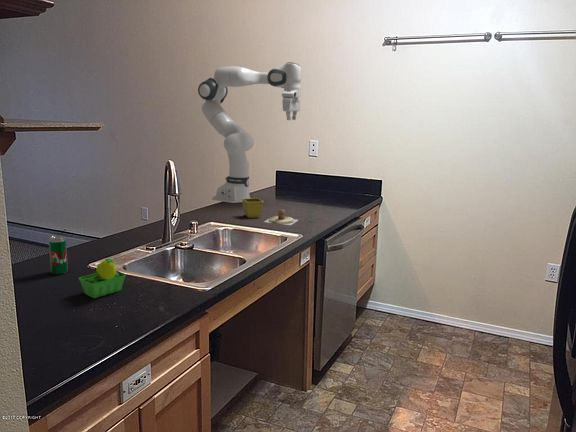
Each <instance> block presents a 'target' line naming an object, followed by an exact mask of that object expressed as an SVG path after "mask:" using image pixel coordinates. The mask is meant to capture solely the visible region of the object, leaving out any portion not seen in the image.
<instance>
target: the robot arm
mask: <svg viewBox="0 0 576 432" xmlns="http://www.w3.org/2000/svg"><path fill="white" fill-rule="evenodd" d="M213 75H214V76H213V78H212V77H208V78H207V79H206V80H204V81H202V82H200V84H198V88H197V93H198V95H199V97H200V98H201V99H202V100H204V103H203V104H202V106H201V111H202V113H203V115H204V117H205V118H206V119H207V121H208V122H209V123H210V124H211V126H212V127H213V128H214V129H215V131H216V132H217V133H218V134H219V135H221V136H222V137H223V138H224V140H223V148H224V149H225V150H226V154H227V157H228V163H229V164H228V167H229V169H228V171H229V172H228V173H229V175H228V176H226V177H225V178H224V179H225V181H226V182H225V183H223V184H222V185H221V186H219V187H218V188H217V190H216V192H215V195H214V196H213V197H211V198H212V199H211V200H212V201H218V202H223V203H224V202H225V203H230V204H236V203H243V201H242V199H247V198H251V196H250V189H249V187H250V176H249V171H250V170H249V166H250V165H249V161H248V160H247V155H246V152H248V151H249V150H251V149H252V148H253V147H254V143H255V139H254V136H253V135H251V134H250V133H248V132H247V131H246V130H245V129H244V128H242V127H241V126H240V125H239V124H237V122H235V120H234V119H233V118H232V117H231V116H230V115H229V114H228V113H227V111H226V110H225V109H224V108H223V106H222V105H221V104H223V102H224V101H225V99H226V97H227V95H228V92H229V91H228V88H229V87H230V88H231V87H232V88H233V87H234V88H237V87H238V88H239V87H246V86H252V85H260V84H261V85H262V84H263V85H270V86H272V87H275V88H281V89H283V91H282V92H281V97H282V111H283V112H285V114H286V120H287V121H291V120H293V121H296V119H297V115H298V112H300V110H301V99H300V98H301V92H302V91H301V89H302V87H301V81H302V68H301V66H300V64H298V63H295V62H291V61H287V62H286V63H284V64H283V65H282V66H278V67H275V68H272V69H271V70H269V71H268V72H265V71H264V72H263V71H261V72H260V71H256V70H252V69H250V68H247V67H243V66H237V65H230V66H220V67H218V68H216V69H215V71H214V74H213ZM291 113H292V116H291Z"/></svg>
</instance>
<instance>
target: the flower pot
mask: <svg viewBox="0 0 576 432" xmlns="http://www.w3.org/2000/svg"><path fill="white" fill-rule="evenodd" d="M242 201H243V202H242V209H243V212H244V215H245V216H246V217H247V218H249V219H255V218H260V217H261V215H262V213H263V211H264V210H263V209H264V203H265V202H264V200H262V199H260V198H259V197H253V198H252V197H250V198H247V199H242Z"/></svg>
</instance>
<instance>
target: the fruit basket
mask: <svg viewBox="0 0 576 432" xmlns="http://www.w3.org/2000/svg"><path fill="white" fill-rule="evenodd" d="M95 271H96V272H95V273H92V274H87V275H84V276H83V275H82V276H80V277H78V280H79V282H80V284H81V286H82V289H83V292H84V295H87V296H89V297H90V298H92V299H96V298H99V297H102V296H103V297H104V296H107V295H111V294H113V293H114V294H115V293H117V292H120V291H122V288H123V285H124V281H125V279H126V273H123V272H121V271H119V270H117V267H116V264H115V260H114V259H113V258H110V257H108V258H105V259H104V260H102V261H101V262H100V263H99V264H98V265H97V266H96V268H95Z"/></svg>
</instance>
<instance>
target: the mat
mask: <svg viewBox="0 0 576 432" xmlns="http://www.w3.org/2000/svg"><path fill="white" fill-rule="evenodd" d="M293 219H294V218H293ZM298 221H299V219H294V222H292V223H289V224H283V225H286V226H292V225H294V224H295V223H297V222H298ZM263 223H267V224H273V223H272V222H270V221H269V218H267V219H266V220H265V221H263ZM274 224H277V223H274ZM277 225H278V224H277Z"/></svg>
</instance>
